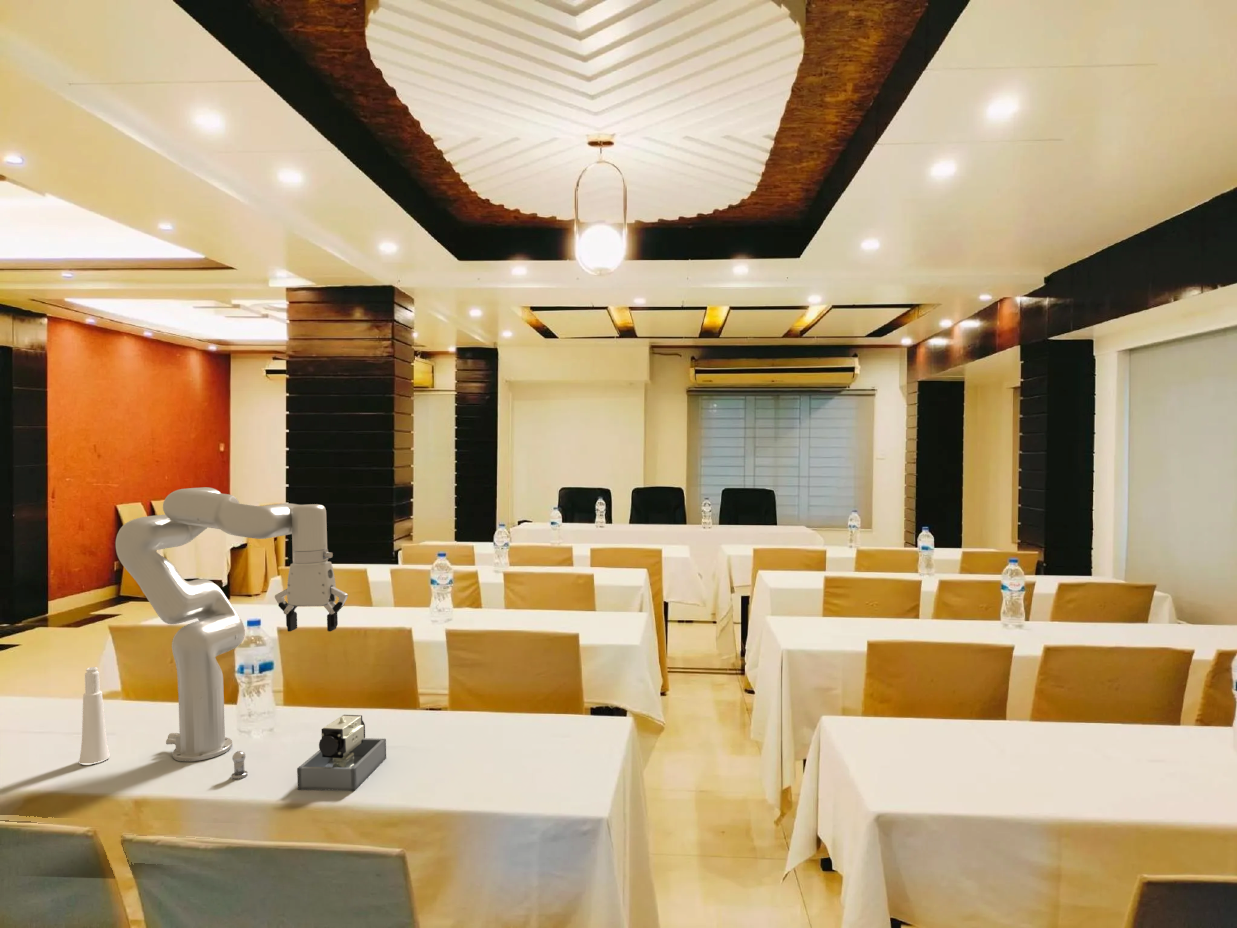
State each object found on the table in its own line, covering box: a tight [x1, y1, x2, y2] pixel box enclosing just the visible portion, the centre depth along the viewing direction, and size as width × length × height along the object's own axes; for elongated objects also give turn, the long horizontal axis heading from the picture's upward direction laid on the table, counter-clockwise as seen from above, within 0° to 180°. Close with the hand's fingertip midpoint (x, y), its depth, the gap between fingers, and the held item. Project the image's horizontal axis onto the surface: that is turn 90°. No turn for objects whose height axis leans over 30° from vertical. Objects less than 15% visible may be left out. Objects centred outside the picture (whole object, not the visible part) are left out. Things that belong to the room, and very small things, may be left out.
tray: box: [296, 737, 387, 792], centre depth 164 cm, size 13×17×5 cm
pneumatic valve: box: [318, 714, 366, 768], centre depth 164 cm, size 6×12×12 cm, turn 170°
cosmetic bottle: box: [78, 666, 111, 763], centre depth 174 cm, size 6×6×22 cm
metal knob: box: [230, 750, 249, 781], centre depth 163 cm, size 3×3×6 cm
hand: (312, 630), depth 172 cm, fingers open, 9 cm apart
